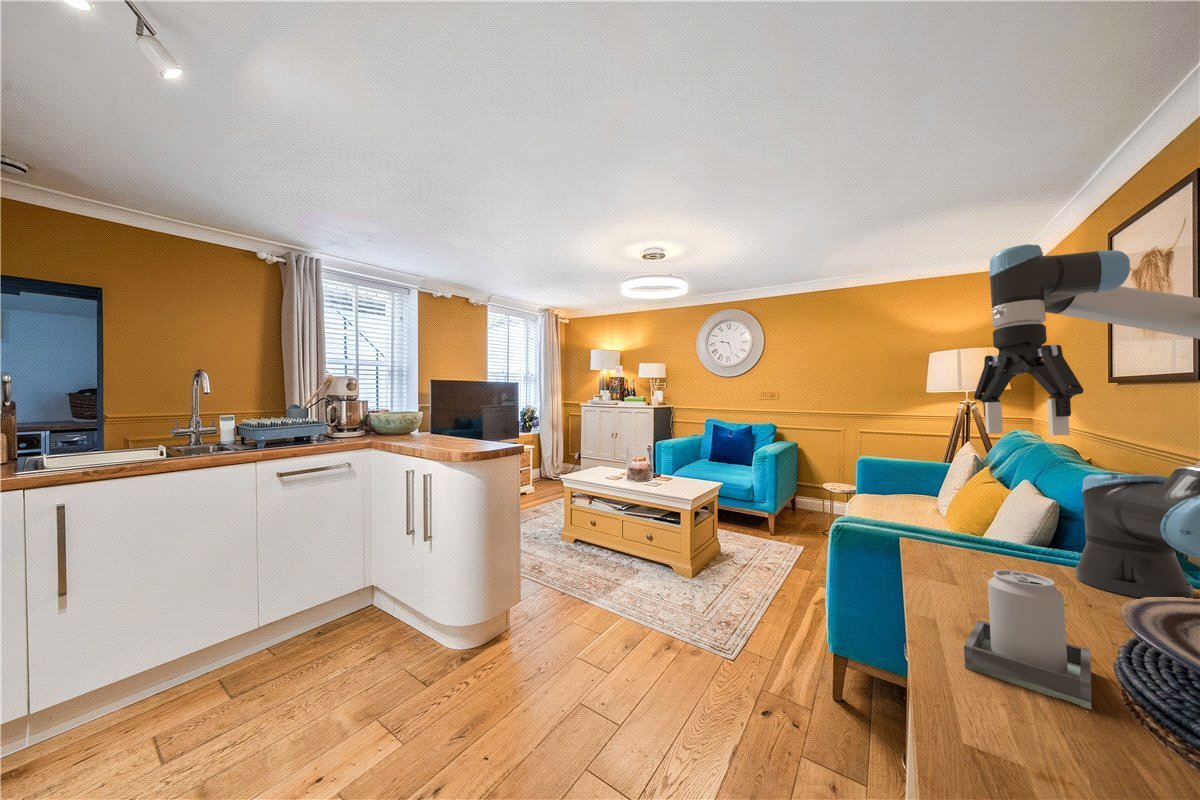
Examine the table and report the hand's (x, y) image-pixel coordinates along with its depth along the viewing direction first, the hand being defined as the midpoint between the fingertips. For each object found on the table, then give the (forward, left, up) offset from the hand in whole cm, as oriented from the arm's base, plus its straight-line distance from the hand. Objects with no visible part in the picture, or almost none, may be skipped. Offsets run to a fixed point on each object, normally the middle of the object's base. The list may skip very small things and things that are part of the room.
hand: (1024, 434), depth 83 cm
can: (+20, +26, -31) cm, 45 cm away
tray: (+20, +26, -32) cm, 46 cm away
